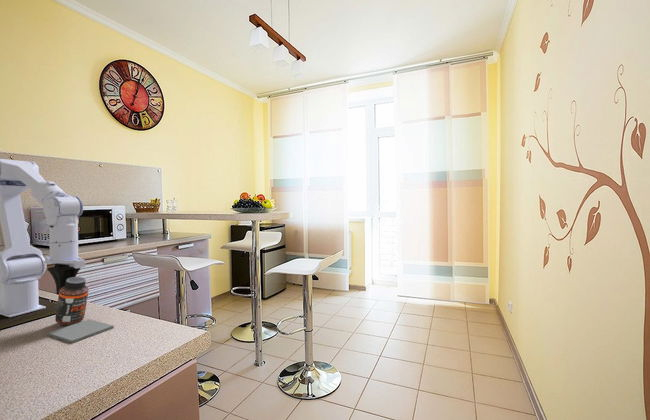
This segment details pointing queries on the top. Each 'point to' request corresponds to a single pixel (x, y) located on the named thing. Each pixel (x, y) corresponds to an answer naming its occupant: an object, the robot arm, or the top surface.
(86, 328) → the mat
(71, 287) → the supplement bottle
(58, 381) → the top surface
